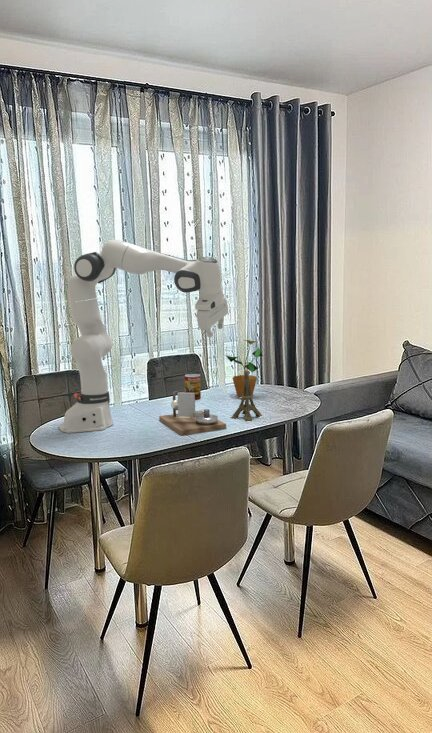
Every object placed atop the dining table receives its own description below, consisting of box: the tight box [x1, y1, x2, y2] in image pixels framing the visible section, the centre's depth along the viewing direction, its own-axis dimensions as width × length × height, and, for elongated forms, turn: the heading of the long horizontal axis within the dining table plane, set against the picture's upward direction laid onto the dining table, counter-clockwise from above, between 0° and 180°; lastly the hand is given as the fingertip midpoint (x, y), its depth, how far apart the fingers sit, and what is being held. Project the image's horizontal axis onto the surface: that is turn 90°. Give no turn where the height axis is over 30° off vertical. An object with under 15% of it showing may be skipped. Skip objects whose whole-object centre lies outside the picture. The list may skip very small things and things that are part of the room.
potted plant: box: [225, 339, 264, 398], centre depth 287 cm, size 18×19×30 cm
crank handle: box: [170, 392, 219, 425], centre depth 236 cm, size 20×9×12 cm, turn 80°
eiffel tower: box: [230, 366, 263, 422], centre depth 249 cm, size 11×11×25 cm
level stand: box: [158, 388, 227, 436], centre depth 240 cm, size 20×25×13 cm
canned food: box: [184, 373, 202, 401], centre depth 286 cm, size 8×8×12 cm
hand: (215, 332), depth 226 cm, fingers open, 8 cm apart
